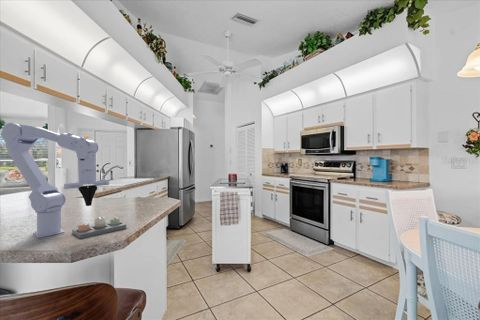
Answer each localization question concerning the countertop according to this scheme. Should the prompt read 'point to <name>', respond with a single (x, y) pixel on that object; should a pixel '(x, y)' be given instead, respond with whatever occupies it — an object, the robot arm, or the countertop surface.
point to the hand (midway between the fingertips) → (88, 205)
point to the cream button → (100, 222)
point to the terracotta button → (83, 227)
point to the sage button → (114, 221)
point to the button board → (98, 230)
